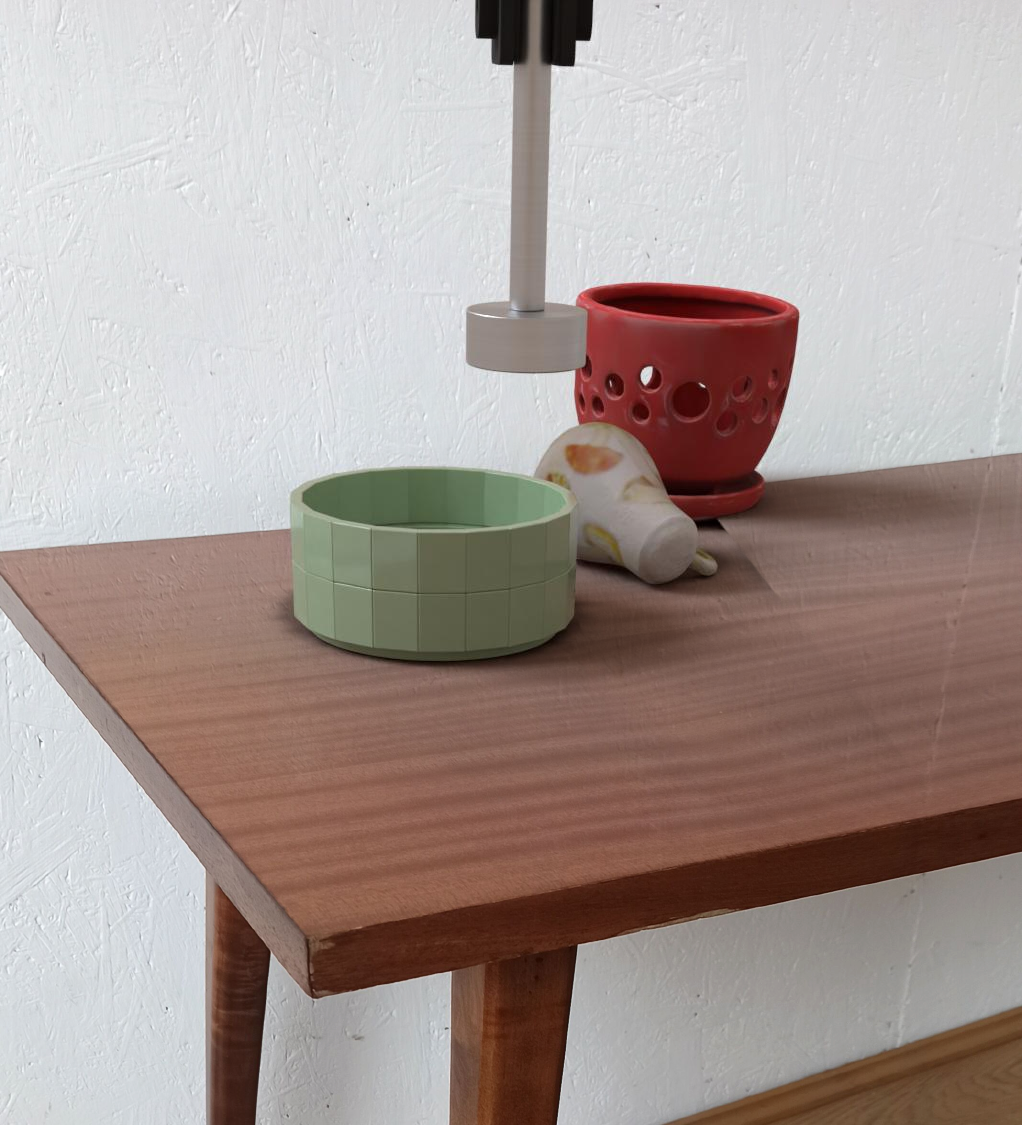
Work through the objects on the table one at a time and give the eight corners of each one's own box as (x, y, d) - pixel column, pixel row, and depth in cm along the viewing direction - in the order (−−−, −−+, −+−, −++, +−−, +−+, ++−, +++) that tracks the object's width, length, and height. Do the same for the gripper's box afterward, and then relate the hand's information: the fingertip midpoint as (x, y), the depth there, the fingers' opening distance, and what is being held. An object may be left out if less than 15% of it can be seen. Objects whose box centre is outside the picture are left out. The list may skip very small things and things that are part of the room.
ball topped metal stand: (576, 354, 73) (593, -113, 64) (593, 374, 69) (614, -122, 60) (460, 353, 72) (463, -117, 64) (471, 373, 68) (475, -126, 60)
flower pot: (537, 520, 105) (544, 301, 99) (603, 476, 116) (613, 275, 109) (752, 544, 101) (773, 317, 95) (799, 496, 112) (821, 290, 106)
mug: (640, 607, 90) (562, 417, 88) (563, 642, 99) (491, 471, 97) (755, 554, 93) (682, 369, 90) (670, 593, 102) (602, 425, 99)
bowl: (555, 584, 93) (559, 466, 90) (588, 664, 82) (594, 532, 78) (296, 585, 92) (291, 465, 89) (293, 666, 80) (287, 532, 77)
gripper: (300, -668, 52) (322, 62, 61) (820, -635, 53) (762, 72, 63) (298, -593, 58) (318, 58, 68) (762, -565, 60) (718, 67, 69)
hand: (532, 61), depth 65 cm, fingers closed on ball topped metal stand
